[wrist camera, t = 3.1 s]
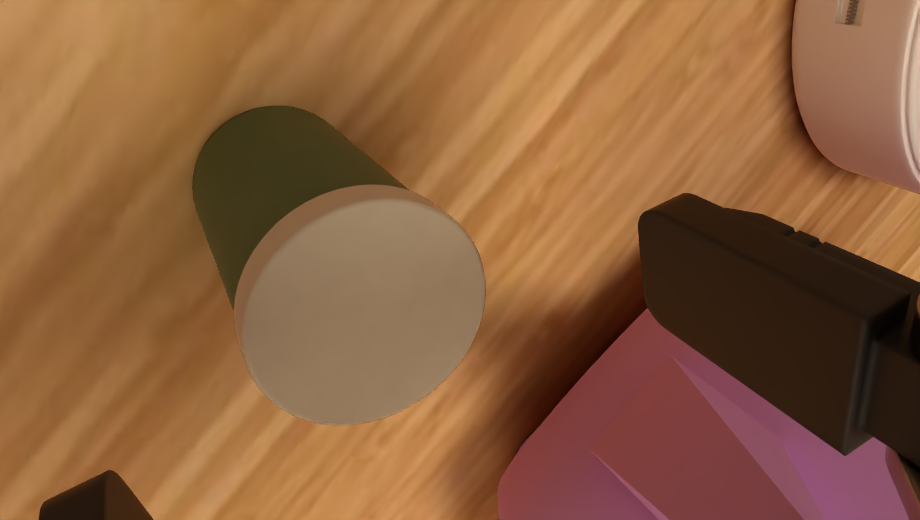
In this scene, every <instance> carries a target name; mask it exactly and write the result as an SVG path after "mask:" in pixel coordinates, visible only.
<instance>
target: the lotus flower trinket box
mask: <svg viewBox="0 0 920 520" xmlns="http://www.w3.org/2000/svg"><path fill="white" fill-rule="evenodd" d="M792 73H793V83H794V89H795V95H796V100H797V104H798V108H799V111H800V114H801V117H802V120H803V122H804V125H805V127H806V129H807V132H808V134H809V136H810V137H811V139H812V141H813V143H814V144H815V146H816V147H817V148H818V150H819V151H820V152H821V153H822V154H823V155H824V156H825V157H826V158H827V159H828V160H829V161H830V162H832V163H833V164H834V165H836V166H838V167H840V168H842V169H844V170H847V171H850V172H853V173H856V174H859V175H862V176H865V177H868V178H871V179H874V180H877V181H880V182H884V183H887V184H890V185H893V186H896V187H899V188H902V189H905V190H908V191H911V192H915V193H918V194H920V0H796V3H795V11H794V19H793V30H792Z"/></svg>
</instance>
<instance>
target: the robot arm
mask: <svg viewBox="0 0 920 520" xmlns="http://www.w3.org/2000/svg"><path fill="white" fill-rule="evenodd" d="M638 234H639V247H640V260H641V274H642V287H643V295H644V299H645V302H646V305H647V307H648V309H649V311H650V312H651V314H652V315H653V317H654V318H655V319H656V321H657V322H658V323H659V324H660V325H661V326H662V327H664V328H665V329H666V330H668V331H669V332H671V333H672V334H673V335H675V336H676V337H678V338H679V339H680V340H682V341H683V342H685V343H686V344H687V345H689V346H690V347H692V348H693V349H694V350H696V351H697V352H699V353H700V354H701V355H703V356H704V357H706V358H707V359H709V360H710V361H711V362H713V363H714V364H716V365H717V366H718V367H720V368H721V369H723V370H724V371H725V372H727V373H728V374H730V375H731V376H732V377H734V378H735V379H737V380H738V381H740V382H741V383H742V384H744V385H745V386H747V387H748V388H749V389H751V390H752V391H754V392H755V393H756V394H758V395H759V396H761V397H762V398H763V399H765V400H766V401H768V402H769V403H771V404H772V405H773V406H775V407H776V408H778V409H779V410H780V411H782V412H783V413H785V414H786V415H787V416H789V417H790V418H792V419H793V420H794V421H796V422H797V423H799V424H800V425H802V426H803V427H804V428H806V429H807V430H809V431H810V432H811V433H813V434H814V435H816V436H817V437H818V438H820V439H821V440H823V441H824V442H825V443H827V444H828V445H830V446H831V447H832V448H834V449H835V450H837V451H838V452H840V453H841V454H842V455H844V456H847V455H848V454H849V453H851V452H852V451H854V450H855V449H857V448H858V447H860V446H861V445H863V444H864V443H865V442H867V441H868V440H870V439H871V438H873V437H874V438H876V439H877V440H879V441H880V442H882V443H883V444H885V445H887V446H886V450H885V462H886V465H887V468H888V471H889V473H890V475H891V478H892V480H893V482H894V485H895V487H896V489H897V492H898V494H899V496H900V499H901V501H902V504H903V506H904V508H905V511H906V513H907V515H908V518H909V520H920V282H917V281H915V280H913V279H910V278H908V277H906V276H903V275H901V274H899V273H896V272H894V271H892V270H890V269H887V268H885V267H883V266H880V265H878V264H876V263H873V262H871V261H869V260H867V259H864V258H862V257H860V256H857V255H855V254H853V253H850V252H848V251H846V250H844V249H841V248H839V247H837V246H834V245H832V244H830V243H827V242H824V243H823V244H822V243H821V242H820V241H819V239H818V238H816V237H814V236H811V235H809V234H807V233H804V232H802V231H800V230H799V231H798V232H795V231H794V228H793V227H791V226H788V225H786V224H784V223H781V222H779V221H777V220H774V219H772V218H770V217H768V216H765V215H763V214H758V213H752V212H747V211H741V210H736V209H730V208H723V207H721V206H718V205H716V204H714V203H712V202H709V201H707V200H705V199H703V198H701V197H698V196H696V195H694V194H690V193H683V194H681V195H678V196H676V197H674V198H672V199H670V200H668V201H666V202H664V203H662V204H660V205H658V206H656V207H654V208H652V209H650V210H648V211H645V212H644V213H643V214H642V215H641V216H640V218H639V222H638ZM39 520H153V518H152V517H151V516H150V514H149V513H148V512H147V511H146V509H145V508H144V507H143V505H142V504H141V503H140V501H139V500H138V499H137V497H136V496H135V495H134V494H133V492H132V491H131V490H130V488H129V487H128V486H127V484H126V483H125V482H124V481H123V479H122V478H121V477H120V476H119V475H118V474H117V473H115V472H114V471H112V470H108V471H106V472H104V473H102V474H100V475H98V476H96V477H94V478H91V479H89V480H87V481H85V482H83V483H81V484H79V485H77V486H75V487H73V488H71V489H69V490H67V491H65V492H63V493H61V494H58V495H56V496H54V497H52V498H50V499H48V500H46V501H45V502H44V503H43V504H42V506H41V509H40V514H39Z"/></svg>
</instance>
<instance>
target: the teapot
mask: <svg viewBox="0 0 920 520" xmlns="http://www.w3.org/2000/svg"><path fill="white" fill-rule="evenodd" d="M886 446H887V445H885V444H883V443H882V442H880V441H879V440H877V439H876V438H874V437H873V438H871V439H870V440H868V441H867V442H865V443H864V444H863V445H861V446H860V447H858V448H857V449H855V450H854V451H852V452H851V453H849V454H848V455H847V456H844V455H842V454H841V453H840V452H838V451H837V450H835V449H834V448H832V447H831V446H830V445H828V444H827V443H825V442H824V441H823V440H821V439H820V438H818V437H817V436H816V435H814V434H813V433H811V432H810V431H809V430H807V429H806V428H804V427H803V426H802V425H800V424H799V423H797V422H796V421H794V420H793V419H792V418H790V417H789V416H787V415H786V414H785V413H783V412H782V411H780V410H779V409H778V408H776V407H775V406H773V405H772V404H771V403H769V402H768V401H766V400H765V399H763V398H762V397H761V396H759V395H758V394H756V393H755V392H754V391H752V390H751V389H749V388H748V387H747V386H745V385H744V384H742V383H741V382H740V381H738V380H737V379H735V378H734V377H732V376H731V375H730V374H728V373H727V372H725V371H724V370H723V369H721V368H720V367H718V366H717V365H716V364H714V363H713V362H711V361H710V360H709V359H707V358H706V357H704V356H703V355H701V354H700V353H699V352H697V351H696V350H694V349H693V348H692V347H690V346H689V345H687V344H686V343H685V342H683V341H682V340H680V339H679V338H678V337H676V336H675V335H673V334H672V333H671V332H669V331H668V330H666V329H665V328H664V327H662V326H661V325H660V324H659V323H658V322H657V321H656V319H655V318H654V317H653V315H652V314H651V312H650V311H649V309H648V308H647V309H646V310H645V311H644V312H643V313H642V314H641V315H640V316H639V317H638V318H637V319H636V320H635V321H634V322H633V323H632V324H631V325H630V326H629V327H628V328H627V329H626V330H625V331H624V332H623V333H622V334H621V335H620V336H619V337H618V338H617V339H616V341H615V342H614V343H613V344H612V345H611V346H610V347H609V348H608V349H607V350H606V351H605V352H604V353H603V354H602V355H601V357H600V358H599V359H598V360H597V361H596V362H595V363H594V364H593V365H592V366H591V367H590V368H589V369H588V371H587V372H586V373H585V374H584V375H583V376H582V377H581V378H580V380H579V381H578V382H577V383H576V384H575V385H574V386H573V388H572V389H571V390H570V391H569V392H568V393H567V394H566V395H565V397H564V398H563V399H562V400H561V401H560V402H559V404H558V405H557V406H556V407H555V408H554V409H553V411H552V412H551V413H550V414H549V415H548V417H547V418H546V419H545V420H544V421H543V422H542V424H541V425H540V426H539V427H538V428H537V429H536V431H535V432H534V433H533V434H531V435H530V436H529V437H528V438H527V439H526V440H525V441H524V443H523V444H522V445H521V447H520V448H519V450H518V452H517V454H516V456H515V457H514V459H513V460H512V461H511V462H510V464H509V465H508V467H507V469H506V471H505V472H504V474H503V476H502V477H501V479H500V482H499V486H498V489H497V496H498V515H499V520H909V518H908V515H907V513H906V511H905V508H904V506H903V504H902V501H901V499H900V496H899V494H898V492H897V489H896V487H895V485H894V482H893V480H892V478H891V475H890V473H889V471H888V468H887V465H886V462H885V450H886Z"/></svg>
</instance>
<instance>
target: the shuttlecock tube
mask: <svg viewBox="0 0 920 520" xmlns="http://www.w3.org/2000/svg"><path fill="white" fill-rule="evenodd" d="M192 188H193V199H194V203H195V207H196V210H197V213H198V215H199V218H200V221H201V224H202V226H203V229H204V232H205V235H206V237H207V240H208V243H209V245H210V248H211V251H212V254H213V256H214V259H215V262H216V264H217V267H218V270H219V273H220V275H221V278H222V281H223V284H224V286H225V289H226V292H227V294H228V297H229V300H230V303H231V305H232V308H233V311H234V324H235V331H236V336H237V340H238V344H239V346H240V349H241V352H242V355H243V358H244V361H245V363H246V366H247V368H248V371H249V373H250V375H251V377H252V379H253V380H254V382H255V383H256V385H257V387H258V388H259V389H260V390H261V392H262V393H263V394H264V395H265V396H266V397H267V398H268V399H269V400H270V401H271V402H273V403H274V404H275V405H276V406H278V407H279V408H281V409H282V410H284V411H286V412H288V413H290V414H291V415H293V416H296V417H298V418H301V419H303V420H306V421H310V422H314V423H319V424H326V425H354V424H362V423H367V422H371V421H375V420H379V419H382V418H385V417H388V416H390V415H393V414H395V413H397V412H400V411H402V410H404V409H406V408H408V407H410V406H411V405H413V404H415V403H416V402H418V401H420V400H421V399H422V398H424V397H425V396H427V395H428V394H429V393H431V392H432V391H433V390H434V389H436V388H437V387H438V386H439V385H440V384H441V383H442V382H443V381H444V380H445V379H446V378H447V377H448V376H449V375H450V374H451V373H452V372H453V371H454V369H455V368H456V367H457V366H458V364H459V363H460V362H461V360H462V359H463V357H464V356H465V354H466V353H467V351H468V349H469V348H470V346H471V344H472V342H473V340H474V338H475V336H476V334H477V331H478V328H479V325H480V323H481V319H482V315H483V311H484V305H485V296H486V287H485V276H484V269H483V265H482V262H481V258H480V255H479V253H478V251H477V248H476V246H475V244H474V242H473V241H472V239H471V238H470V236H469V235H468V234H467V232H466V231H465V230H464V229H463V228H462V227H461V226H460V225H459V224H458V223H457V222H456V221H455V220H454V219H453V218H452V217H450V216H449V215H448V214H447V213H445V212H444V211H443V210H442V209H441V208H439V207H438V206H437V205H435V204H434V203H433V202H431V201H430V200H428V199H426V198H425V197H423V196H421V195H419V194H417V193H414V192H412V191H410V190H408V189H407V188H406V187H405V186H404V185H402V184H401V183H400V182H399V181H398V180H396V179H395V178H394V177H393V176H392V175H390V174H389V173H388V172H387V171H386V170H384V169H383V168H382V167H381V166H380V165H378V164H377V163H376V162H375V161H374V160H372V159H371V158H370V157H369V156H367V155H366V154H365V153H364V152H363V151H361V150H360V149H359V148H358V147H357V146H355V145H354V144H353V143H352V142H351V141H349V140H348V139H347V138H346V137H345V136H343V135H342V134H341V133H340V132H339V131H337V130H336V129H335V128H334V127H333V126H331V125H330V124H329V123H327V122H326V121H325V120H323V119H322V118H320V117H318V116H316V115H315V114H313V113H310V112H307V111H305V110H302V109H298V108H294V107H286V106H269V107H262V108H257V109H254V110H250V111H247V112H245V113H242V114H240V115H238V116H236V117H234V118H233V119H231V120H229V121H228V122H226V123H225V124H224V125H223V126H221V127H220V128H219V129H218V130H217V131H216V132H215V133H214V134H213V135H212V136H211V137H210V139H209V140H208V141H207V143H206V144H205V146H204V147H203V149H202V151H201V153H200V155H199V157H198V160H197V163H196V166H195V170H194V175H193V187H192Z"/></svg>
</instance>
